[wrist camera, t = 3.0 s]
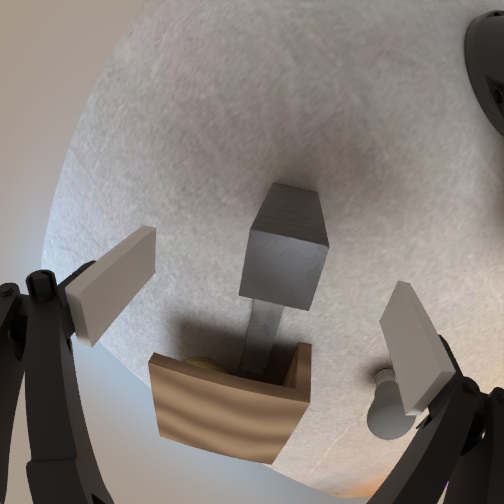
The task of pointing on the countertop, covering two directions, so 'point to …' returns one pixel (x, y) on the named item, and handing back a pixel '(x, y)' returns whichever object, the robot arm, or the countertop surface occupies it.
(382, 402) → the light bulb
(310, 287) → the l-shaped hook tool
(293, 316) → the countertop surface
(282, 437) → the shelf
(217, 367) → the ball
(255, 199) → the countertop surface
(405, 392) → the robot arm
